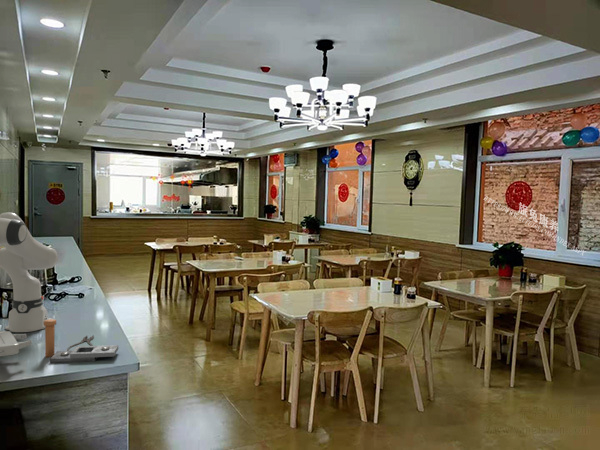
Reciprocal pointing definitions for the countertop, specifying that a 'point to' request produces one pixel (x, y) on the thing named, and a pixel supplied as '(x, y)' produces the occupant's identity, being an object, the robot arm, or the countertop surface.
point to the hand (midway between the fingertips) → (28, 339)
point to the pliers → (83, 342)
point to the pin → (49, 337)
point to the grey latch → (84, 354)
